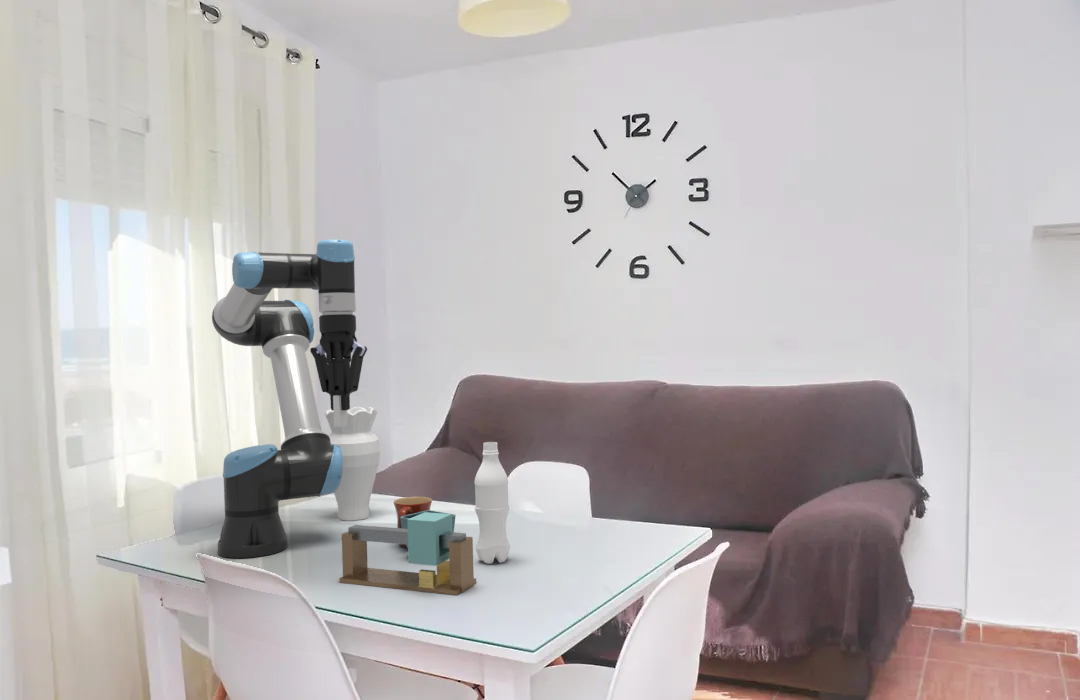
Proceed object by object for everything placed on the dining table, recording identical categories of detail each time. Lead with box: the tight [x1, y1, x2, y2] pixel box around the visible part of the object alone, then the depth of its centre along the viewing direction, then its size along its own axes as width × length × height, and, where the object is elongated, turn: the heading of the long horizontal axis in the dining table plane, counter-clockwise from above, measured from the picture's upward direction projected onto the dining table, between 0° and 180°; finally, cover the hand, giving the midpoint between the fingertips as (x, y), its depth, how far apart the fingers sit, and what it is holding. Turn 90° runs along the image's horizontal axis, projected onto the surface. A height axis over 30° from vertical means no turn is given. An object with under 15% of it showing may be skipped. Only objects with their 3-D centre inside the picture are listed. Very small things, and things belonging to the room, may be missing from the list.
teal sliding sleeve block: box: [407, 512, 453, 567], centre depth 158 cm, size 6×7×8 cm
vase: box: [324, 406, 381, 522], centre depth 220 cm, size 15×15×29 cm
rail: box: [338, 524, 477, 596], centre depth 160 cm, size 26×8×10 cm, turn 68°
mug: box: [393, 496, 433, 549], centre depth 188 cm, size 12×9×10 cm
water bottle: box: [473, 441, 511, 565], centre depth 174 cm, size 7×7×25 cm
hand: (340, 425), depth 174 cm, fingers closed
